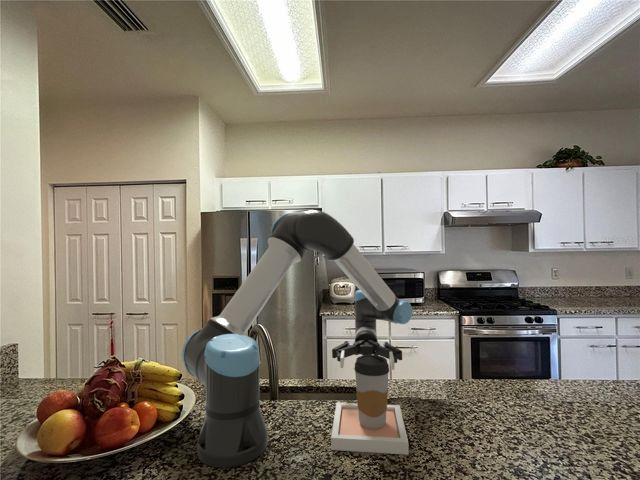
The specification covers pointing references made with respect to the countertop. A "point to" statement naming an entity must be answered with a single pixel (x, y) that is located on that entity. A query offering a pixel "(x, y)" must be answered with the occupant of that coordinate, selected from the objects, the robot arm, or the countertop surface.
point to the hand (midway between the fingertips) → (367, 363)
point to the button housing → (369, 442)
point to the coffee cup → (372, 390)
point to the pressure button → (353, 427)
